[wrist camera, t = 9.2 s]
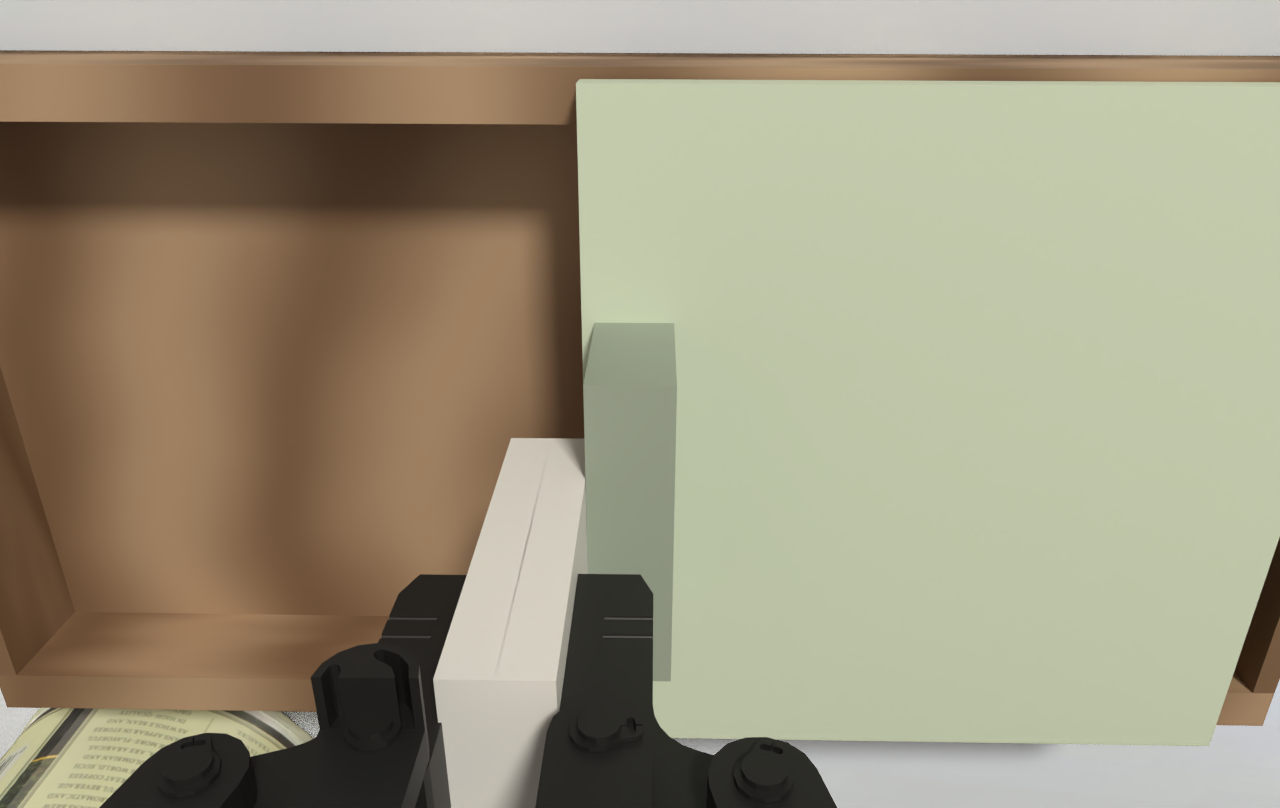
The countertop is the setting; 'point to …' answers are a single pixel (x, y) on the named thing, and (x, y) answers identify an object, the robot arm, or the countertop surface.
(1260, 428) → the lid
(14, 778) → the coffee can
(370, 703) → the robot arm
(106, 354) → the wooden tray
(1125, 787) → the countertop surface
